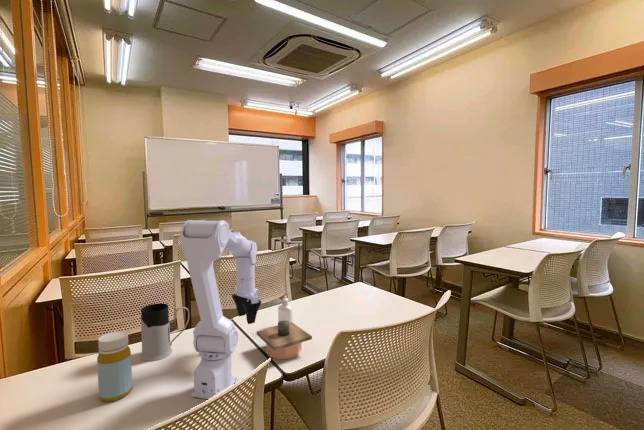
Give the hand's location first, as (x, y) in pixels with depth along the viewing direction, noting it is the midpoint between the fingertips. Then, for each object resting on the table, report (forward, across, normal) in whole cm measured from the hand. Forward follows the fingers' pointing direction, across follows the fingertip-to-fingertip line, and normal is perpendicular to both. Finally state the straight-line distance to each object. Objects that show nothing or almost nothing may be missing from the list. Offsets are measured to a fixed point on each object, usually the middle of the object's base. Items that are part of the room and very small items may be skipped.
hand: (246, 319), depth 102 cm
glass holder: (+10, +13, +22) cm, 27 cm away
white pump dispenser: (+10, +8, -18) cm, 22 cm away
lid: (+5, -8, -9) cm, 13 cm away
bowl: (+10, -8, -9) cm, 16 cm away
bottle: (+10, -2, +36) cm, 37 cm away
